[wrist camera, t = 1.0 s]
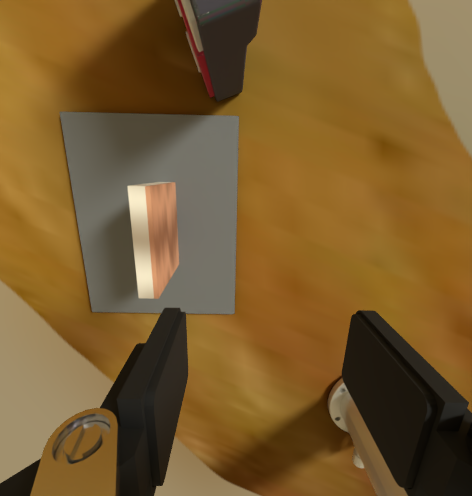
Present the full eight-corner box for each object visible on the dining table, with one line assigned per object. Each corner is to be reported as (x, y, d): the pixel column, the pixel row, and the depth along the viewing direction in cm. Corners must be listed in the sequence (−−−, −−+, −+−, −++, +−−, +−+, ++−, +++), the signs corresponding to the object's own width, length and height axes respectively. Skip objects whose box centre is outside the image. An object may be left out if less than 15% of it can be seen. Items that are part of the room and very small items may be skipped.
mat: (234, 311, 34) (234, 314, 34) (95, 308, 34) (92, 311, 33) (238, 117, 28) (238, 116, 27) (64, 113, 27) (59, 111, 27)
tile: (179, 264, 32) (158, 298, 23) (164, 264, 32) (138, 298, 23) (175, 182, 29) (149, 186, 20) (159, 181, 29) (127, 185, 20)
